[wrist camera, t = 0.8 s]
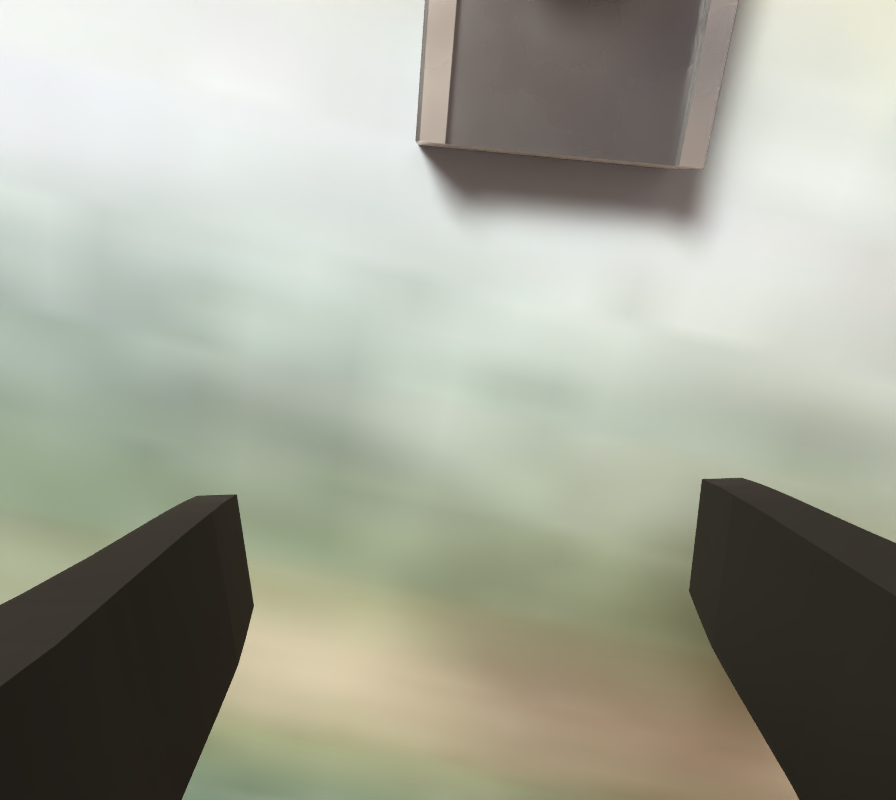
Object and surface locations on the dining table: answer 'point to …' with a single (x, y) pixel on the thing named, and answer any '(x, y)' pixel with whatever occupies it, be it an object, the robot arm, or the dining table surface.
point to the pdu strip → (575, 78)
